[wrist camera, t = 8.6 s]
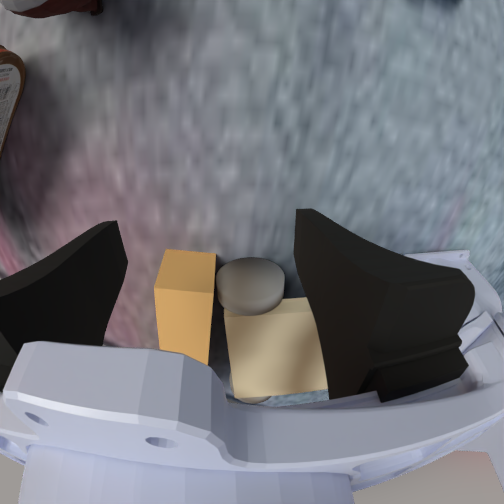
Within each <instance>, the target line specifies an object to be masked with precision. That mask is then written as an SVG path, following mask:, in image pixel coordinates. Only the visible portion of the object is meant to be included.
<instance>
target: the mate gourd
mask: <svg viewBox="0 0 504 504" xmlns="http://www.w3.org/2000/svg"><path fill="white" fill-rule="evenodd" d="M0 2H1V3H2V5H3V6H4V7H5V9H6V10H10V11H11V12H13V13H14V14H18V15H21V16H26V17H31V18H46V17H50V16H55V15H60V14H66V13H69V12H71V11H78V12H86V11H90V12H91V15H93V16H96V15H98V14H100V13H102V12H103V6H102V1H101V0H0Z"/></svg>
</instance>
